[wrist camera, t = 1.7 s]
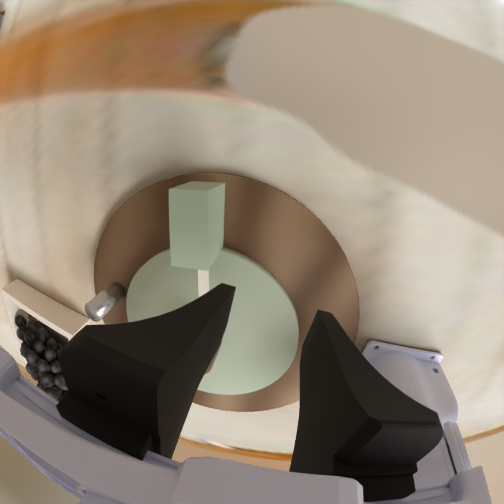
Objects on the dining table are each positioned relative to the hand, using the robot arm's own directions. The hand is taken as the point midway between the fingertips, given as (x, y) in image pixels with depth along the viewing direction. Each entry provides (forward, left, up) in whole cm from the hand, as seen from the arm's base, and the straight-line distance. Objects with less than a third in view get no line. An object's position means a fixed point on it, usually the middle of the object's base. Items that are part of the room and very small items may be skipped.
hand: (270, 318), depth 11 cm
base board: (+4, +9, -10) cm, 14 cm away
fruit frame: (+26, +23, -10) cm, 36 cm away
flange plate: (+4, +6, -9) cm, 12 cm away
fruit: (+26, +23, -11) cm, 36 cm away
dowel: (+13, +9, -10) cm, 19 cm away
